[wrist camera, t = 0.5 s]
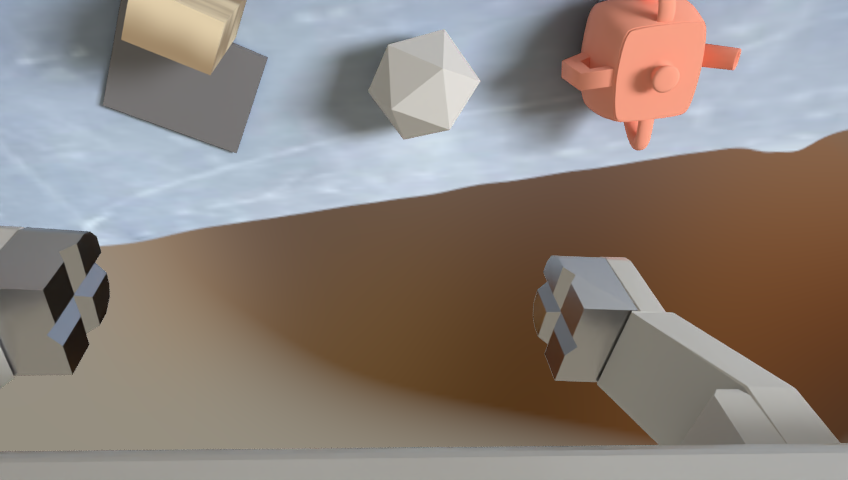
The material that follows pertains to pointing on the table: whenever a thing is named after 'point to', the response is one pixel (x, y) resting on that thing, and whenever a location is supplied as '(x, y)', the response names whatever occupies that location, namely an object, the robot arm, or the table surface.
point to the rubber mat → (184, 90)
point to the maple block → (184, 29)
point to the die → (423, 84)
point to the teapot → (643, 62)
